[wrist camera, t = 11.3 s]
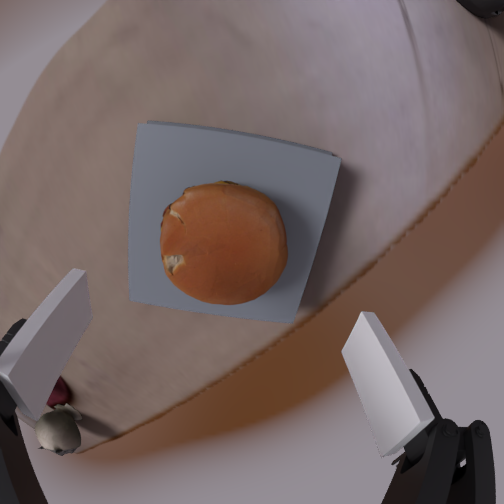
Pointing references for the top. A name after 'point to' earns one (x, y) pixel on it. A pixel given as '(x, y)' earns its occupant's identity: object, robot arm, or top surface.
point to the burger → (223, 243)
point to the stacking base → (238, 171)
